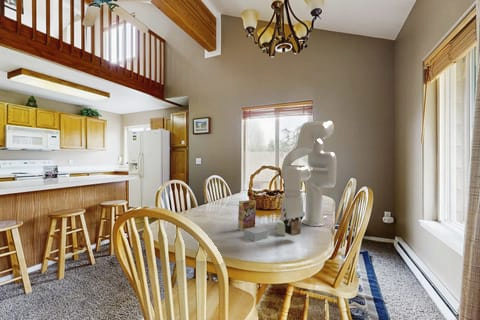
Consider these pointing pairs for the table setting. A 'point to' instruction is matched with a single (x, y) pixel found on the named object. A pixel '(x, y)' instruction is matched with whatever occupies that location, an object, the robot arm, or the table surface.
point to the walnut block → (294, 227)
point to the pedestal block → (255, 233)
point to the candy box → (246, 214)
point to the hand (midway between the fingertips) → (292, 231)
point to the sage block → (281, 228)
